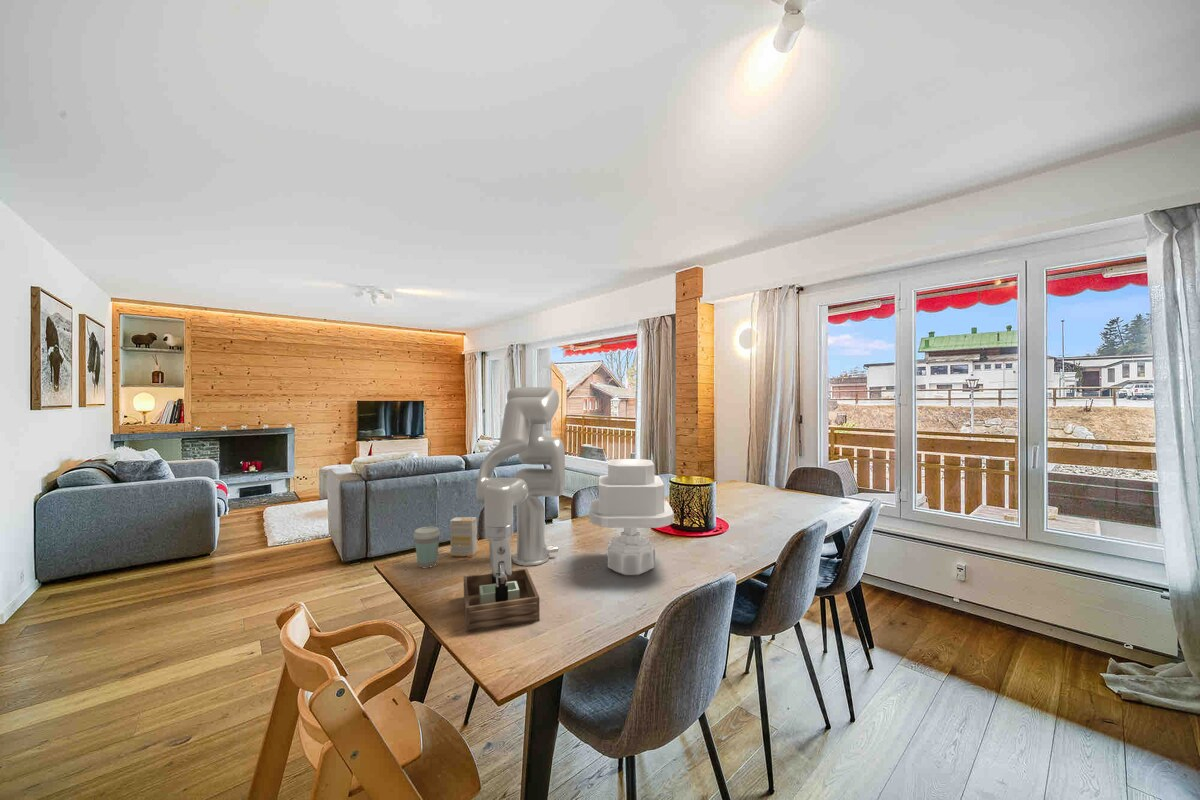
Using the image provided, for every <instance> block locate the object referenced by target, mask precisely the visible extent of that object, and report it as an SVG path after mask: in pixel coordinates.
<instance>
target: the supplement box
mask: <svg viewBox="0 0 1200 800" xmlns="http://www.w3.org/2000/svg"><path fill="white" fill-rule="evenodd" d="M449 525H450V526H449V531H450V535H449V537H450V542H449V543H450V557H451V556H467V557H466V558H474V556H476V555H477V553H478V538H477V537H478V535H477V534H478V533H477V529H478V527H477V517H473V516H468V517H467V516H464V517H463V516H462V517H461V516H456V517H453V518H452V519H450V520H449ZM459 545H460V546H459ZM451 547H452V548H451Z"/></svg>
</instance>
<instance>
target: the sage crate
mask: <svg viewBox="0 0 1200 800" xmlns="http://www.w3.org/2000/svg"><path fill="white" fill-rule="evenodd" d="M507 585H508V600H515V599H519V587H518V584H517V581H511V582H507ZM495 586H496V584H488V585H481V586H479V599H480V604H487V603H494V602H496V601H495ZM508 600H507V601H508Z"/></svg>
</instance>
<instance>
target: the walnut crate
mask: <svg viewBox="0 0 1200 800" xmlns="http://www.w3.org/2000/svg"><path fill="white" fill-rule="evenodd" d="M511 581H517V584H518V587H519V599H515V600H508V601H501V602H494V603H487V604H480V599H479V586H481V585H488V584H492V572H487V573H479V574H471V575H464V576H463V605H464V621H465V633H471V632H478V631H484V630H491V629H497V628H503V627H509V626H515V625H521V624H528V623H532V622H533V623H535V622H539V621H540V611H541V610H540V595H539V594H538V591H537V588H536V586H535V584H534V581H533V579H532V576H531V575H530V571H529V569H528V568H520V569H513V570H512V574H511V575H510V576H509V575H507V582H511Z"/></svg>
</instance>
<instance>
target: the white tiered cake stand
mask: <svg viewBox="0 0 1200 800" xmlns="http://www.w3.org/2000/svg"><path fill="white" fill-rule="evenodd" d="M655 466H656V465H655V464H654V462H653V461H652V459H646V458H629V459H628V458H615V459H608V461H607V469H608V470H607V473H608V474H604V475H599V478H598V499H593V500H591V501H590V506H589V507H590V508H589V517H588V518H589V520H588V521H589V523H591V524H592V525H595V526H598V527H601V528H602V527H603V528H608V529H611V528H614V529H616V528H617V529H618V528H619V529H621V528H622V529H623V531H621V532H620V535H619V536H616V537H613V538H612V539H610V542H608V543H607V568H609V569H610V570H612V571H614V572H616V573H618V574H622V575H624V576H640V575H641V574H644V573H646V572H649V571H650V570H651V569H654V567H655V563H656V550H655V547H654V546H653V543H651V541H650V539H649V538H647V537H643V536H641V534H640V533H641V532H639V531H638V530H637V529H642V528H643V529H645V528H646V529H647V528H648V529H650V528H651V529H652V528H653V529H659V528H664V527H667V526H669V525H672V524H674V523H675V513H674V510H673V509H672V507H671V505H670V503H669V501H667V500H665V483H664V482H663V480H662V479H661V477H660V475H656V474H655Z"/></svg>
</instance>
